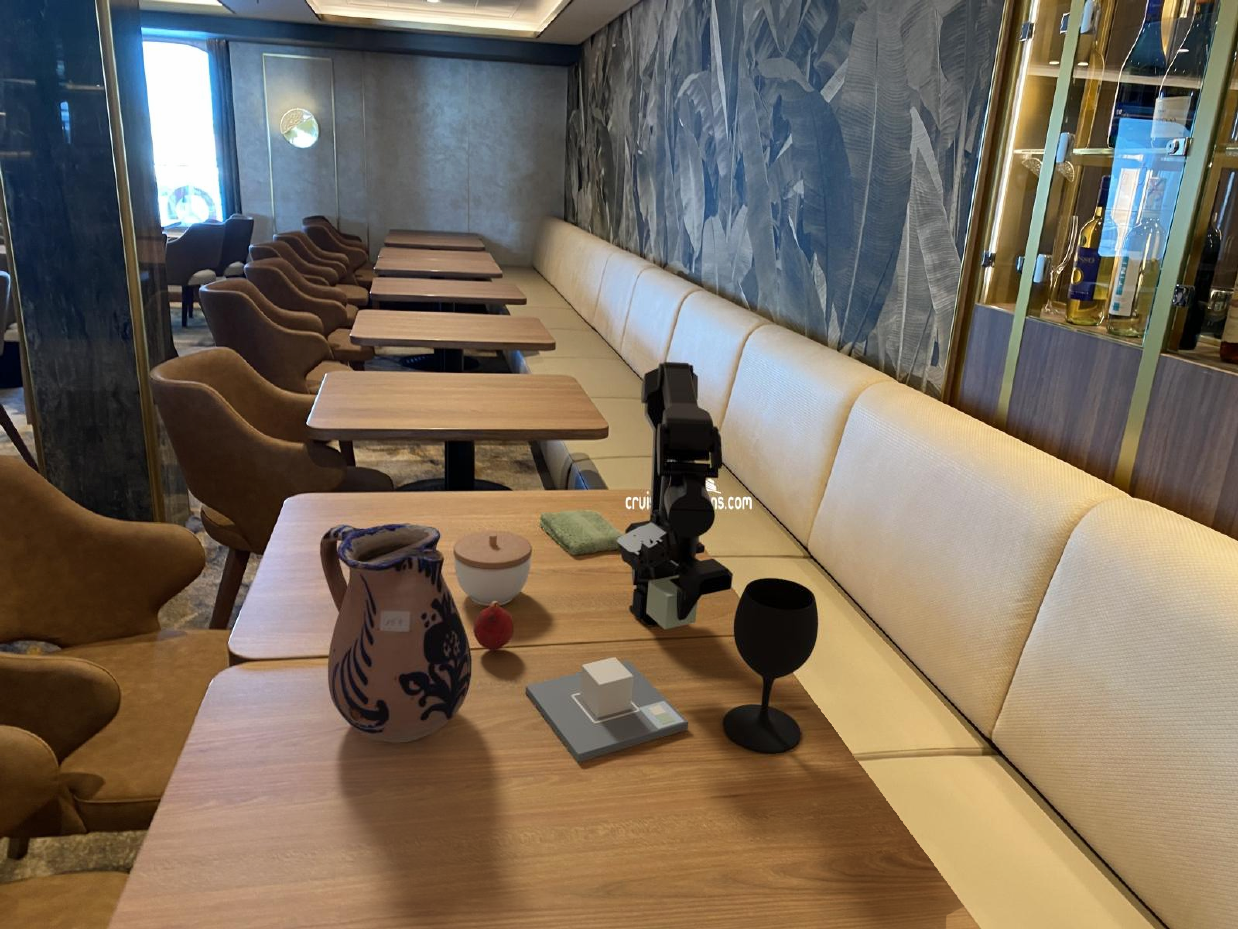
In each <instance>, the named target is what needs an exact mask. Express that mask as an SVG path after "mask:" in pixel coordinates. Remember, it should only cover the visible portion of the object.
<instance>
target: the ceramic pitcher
mask: <svg viewBox="0 0 1238 929" xmlns="http://www.w3.org/2000/svg"><path fill="white" fill-rule="evenodd" d="M441 536H442V535H441V533H440V531H439V530H438V529H437V528H436V527H432V526H427V525H419V524H411V523H407V522H406V523H389V524H388V523H387V524H383V525H376V526H372V527H368V528H358V527H354V526H353V525H350V524H349V525H348V524H338V525H336V526H333V527H331V528H330V529H329V530H328V531H326V532H325V534H324V535H323V536H322V538H321V540H320V543H319V544H320V546H319V555H320V562H321V566H322V570H323V573H324V574H323V575H324V577H325V581H326V583H327V587H328V590H329V592H330V595H331V598H332V600H333V602H334V606H335V607H336V609H337V611H338V615H337V618H336V620H335V625H334V628H333V631H332V632H333V633H332V636H331V641H330V643H329V651H328V658H327V659H328V660H327V685H328V690H329V694H330V698H331V701H332V703H333V705H334V707H335V708H336V709H337V711H338V713H339V714H340V716H341V717H342V718H343V719H344V720H345V721H346V722H347V723H348V724H349V725H350V726H351V727H352V728H353V729H354V730H355V731H356V732H358V733H360V734H362V735H364V736H365V737H367V738H370V739H372V740H375V741H379V742H386V743H402V742H403V743H404V742H411V741H414V740H415V741H416V740H419V739H421V738H425V737H426V736H429V735H431V734H433V733H434V732H436V731H438V730H439V729H441V728H442V727H443V726H445V725H446V724H448V723H449V722H450V721H451V720H452V719H453V718H454V717H455V716H456V715H457V713H458V712H459V710H460V709H461V707H462V706H463V704H464V701H465V700H466V697H467V695H468V693H469V689H470V684H471V679H472V668H473V667H472V666H473V664H472V663H473V662H472V660H473V659H472V652H471V648H470V647H471V646H470V643H469V639H468V638H469V637H468V636H467V632H466V629H465V626H464V623H463V621H462V618H461V616H460V615H461V614H460V613H459V610H458V608H457V605H456V603H455V599H454V598H453V593H452V592H451V590H450V588H449V587H448V586H449V585H448V584H447V582H446V581H445V578H444V576H443V572H442V570H443V564H444V561H445V558H444V555H443V553H442V552H441V551H439V550H438V549H437V546H438V543H439V540H440V538H441ZM339 541H340V543H339V545H338V542H339ZM341 562H342V563H344V565H345V566H346V567H348V569H349V579H348V583H347V581H346V577H345V576H344V573H343V569H342V566H341Z"/></svg>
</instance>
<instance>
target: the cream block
mask: <svg viewBox="0 0 1238 929" xmlns="http://www.w3.org/2000/svg"><path fill="white" fill-rule="evenodd" d="M580 672H581V688H580V698H581V699H582V700H583V702H584V703H585V704H586V705H587V706H588V708H589V709H590V710H591V711H592V712H593V714H594V715H595V716H596V717H597V718H599V717H603V716H606V715H610V714H614V713H617V712H621V711H624V710H628V709H631V699H632V686H633V675H632V674H631V673H630V672H629V671H628V670H627V669H626V668H625V667H624V666H623V665H622V664H621V663H620V661H619V660H618V659H617V658H616V657H615V656H614V657H610V658H606V659H602V660H598V661H597V660H596V661H593V662H590V663H584V664H581V671H580Z"/></svg>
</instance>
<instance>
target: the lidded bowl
mask: <svg viewBox="0 0 1238 929" xmlns="http://www.w3.org/2000/svg"><path fill="white" fill-rule="evenodd" d="M532 546H533V545H532V544H531V542H530V541H529V540H528V539H527V538H526V537H524V536H522V535H519V534H517V533H513V532H509V531H502V530H483V531H476V532H473V533H468V534H466V535H463V536H462V537H460V538H459V539H457V540H456V542H454V545H453V556H454V570H455V576H456V580H457V582H458V584H459V587H460V588H461V589H462V590H461V591H463V592H464V593H465V595H467V596H468V597H470V598H469V599H470V600H471V601H472V602H474V603H475V604H477V605H481V606H484V607H485V606H486V607H489V606H490V605H491V603H492V602H493V601H498V602H499V603H500V604H499V606H503V605H506V604H508V603H510V602H512V600H513V599H514V598H515V596H517V595H518V594H519V593H520V592H521V591H522V590H523V588H524V586H525V585H526V583H527V581H528V578H529V574H530V568H531V558H532V557H531V556H532V553H533V552H532V551H533V547H532Z"/></svg>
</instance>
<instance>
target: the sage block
mask: <svg viewBox="0 0 1238 929" xmlns="http://www.w3.org/2000/svg"><path fill="white" fill-rule="evenodd" d="M678 577H679V575H676V576H671V577H666V578H661V579H656V580H651V581H649V584H648V596H647V609H646V613H647V614H648V615H649V616H650V617H651V618H653V619H654V620H655V621H656V622H657V623H658V625H659V626H660V627H662V628H663V630H669V629H672V628H678V627H682V626H686V625H690V624H694V623H696V617H697V609H698V602H697V603H696V604H695V606H694V607H693V609H692V610H691V612H690V613H689V615H688V616H687V618H686V619H684V620H678V617H677V587H676V586H675V585H674V584H673V583H672V582H670V580H669V579H673V578H678Z"/></svg>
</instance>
